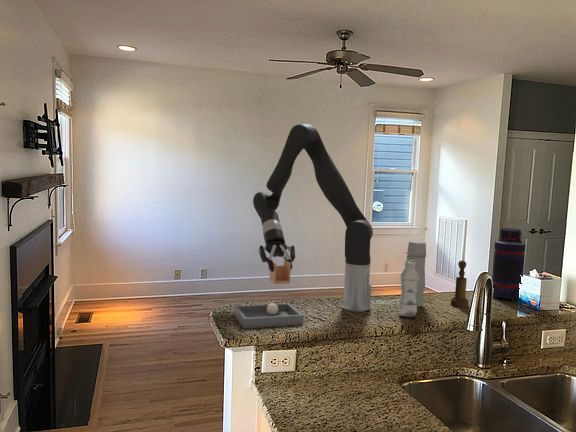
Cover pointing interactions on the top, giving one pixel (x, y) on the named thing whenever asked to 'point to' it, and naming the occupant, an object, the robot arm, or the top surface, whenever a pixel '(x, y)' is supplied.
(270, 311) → the ball
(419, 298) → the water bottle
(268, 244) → the robot arm
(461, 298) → the wooden pepper mill
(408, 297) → the plastic bottle
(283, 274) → the scoop cup
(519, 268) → the striped lidded canister
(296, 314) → the tray
